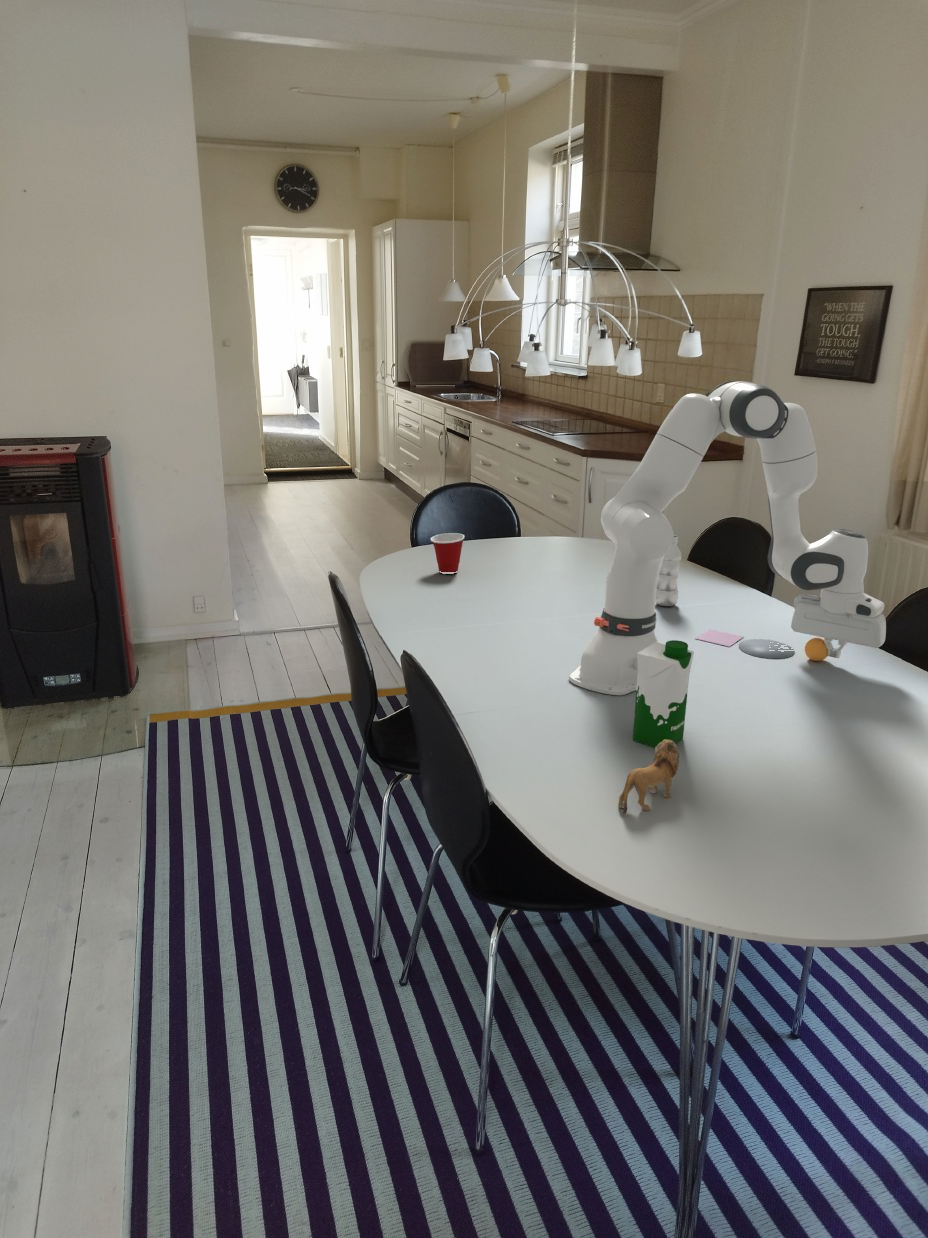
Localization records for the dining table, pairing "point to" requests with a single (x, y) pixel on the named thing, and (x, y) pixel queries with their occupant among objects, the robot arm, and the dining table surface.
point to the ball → (816, 649)
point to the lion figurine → (653, 774)
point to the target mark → (764, 648)
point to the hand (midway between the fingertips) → (833, 656)
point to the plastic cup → (448, 551)
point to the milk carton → (661, 692)
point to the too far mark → (719, 637)
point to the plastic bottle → (669, 577)
